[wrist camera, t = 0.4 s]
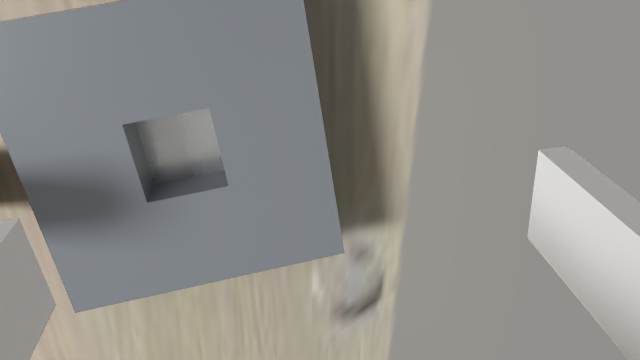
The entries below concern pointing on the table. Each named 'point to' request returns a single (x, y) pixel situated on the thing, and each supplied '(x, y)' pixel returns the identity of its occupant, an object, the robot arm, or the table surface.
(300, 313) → the table surface
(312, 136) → the socket block
